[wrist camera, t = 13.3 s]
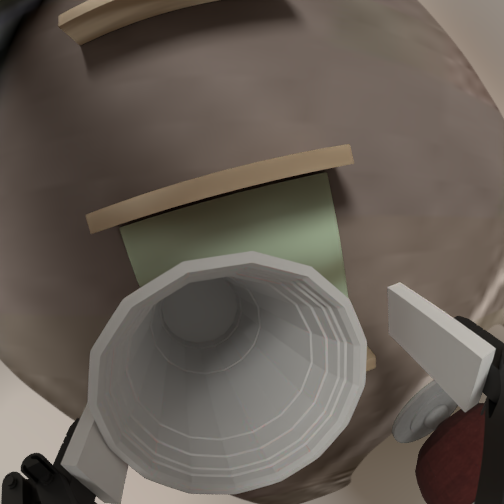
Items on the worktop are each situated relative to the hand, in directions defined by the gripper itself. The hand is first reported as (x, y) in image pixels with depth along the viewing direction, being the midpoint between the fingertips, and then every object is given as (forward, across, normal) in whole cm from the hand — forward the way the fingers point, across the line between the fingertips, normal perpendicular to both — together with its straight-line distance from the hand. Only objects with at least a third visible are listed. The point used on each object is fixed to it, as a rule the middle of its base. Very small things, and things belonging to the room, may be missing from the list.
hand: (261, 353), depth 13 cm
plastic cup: (+8, -4, 0) cm, 9 cm away
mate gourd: (+9, +19, -26) cm, 33 cm away
